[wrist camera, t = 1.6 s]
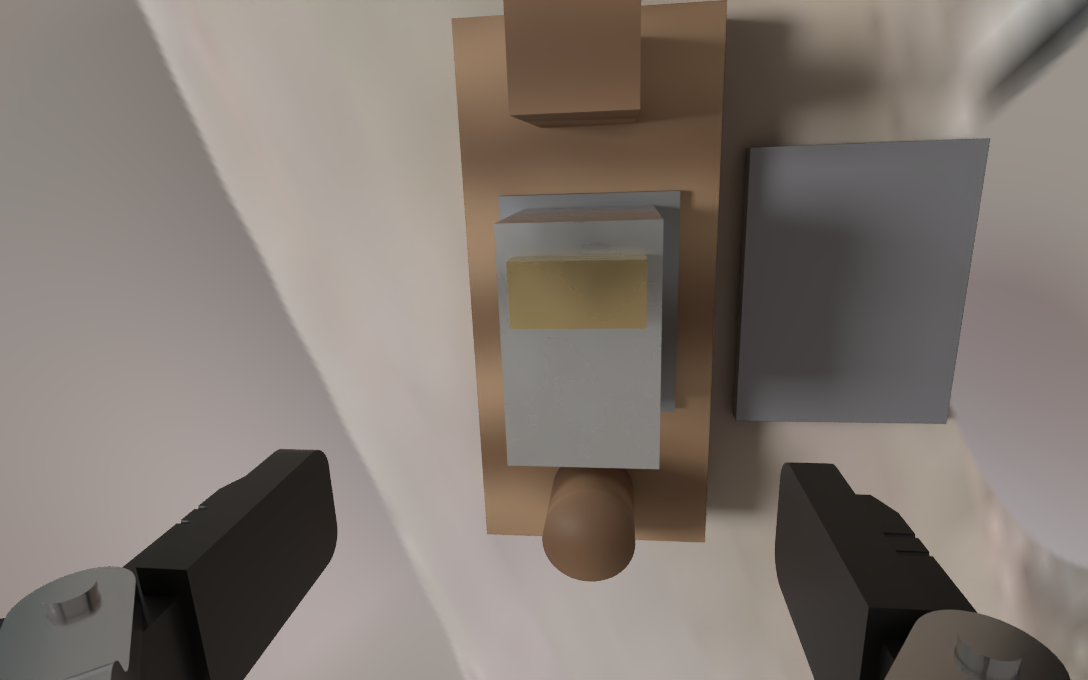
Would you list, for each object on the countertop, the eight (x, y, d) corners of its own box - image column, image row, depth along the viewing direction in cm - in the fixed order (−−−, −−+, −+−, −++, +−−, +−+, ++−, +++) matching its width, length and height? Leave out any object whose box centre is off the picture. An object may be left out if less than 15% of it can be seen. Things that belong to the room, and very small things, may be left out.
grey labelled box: (524, 208, 24) (487, 227, 18) (653, 205, 24) (665, 222, 17) (532, 399, 27) (502, 480, 20) (650, 400, 26) (660, 484, 19)
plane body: (470, 34, 26) (382, -39, 16) (714, 18, 25) (772, -70, 15) (499, 500, 32) (447, 644, 23) (697, 506, 31) (730, 662, 21)
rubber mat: (746, 147, 26) (750, 147, 25) (978, 139, 25) (990, 138, 24) (733, 413, 29) (736, 420, 29) (937, 416, 28) (946, 423, 27)
